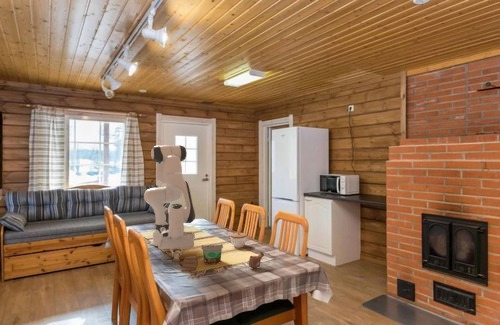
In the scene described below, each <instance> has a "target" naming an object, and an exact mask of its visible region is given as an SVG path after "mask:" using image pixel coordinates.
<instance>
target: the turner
mask: <svg viewBox="0 0 500 325" xmlns="http://www.w3.org/2000/svg"><path fill="white" fill-rule="evenodd" d="M179 252H181V249H180V250H179V249H178V250H175V255H174V256H173V259H172V260H171V262H170V265H172V266H173V265H175V266H176V265H180V262H181V256H179Z"/></svg>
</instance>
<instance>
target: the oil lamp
mask: <svg viewBox="0 0 500 325" xmlns="http://www.w3.org/2000/svg"><path fill="white" fill-rule="evenodd" d="M263 257H265V254H264V252H263V251H260V252H259V254H257V255H250V256H249V260H248V266H249V267H250V268H251V269H257V268H259V267H261V260H262V258H263Z"/></svg>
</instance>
